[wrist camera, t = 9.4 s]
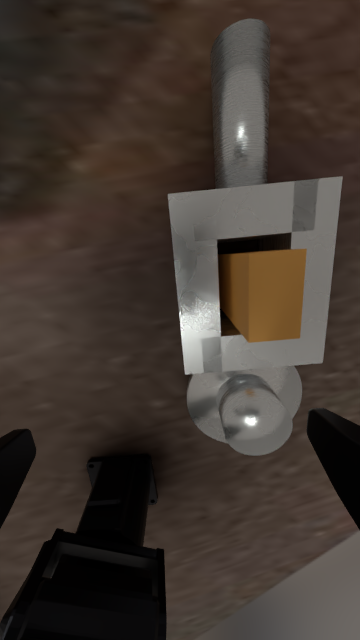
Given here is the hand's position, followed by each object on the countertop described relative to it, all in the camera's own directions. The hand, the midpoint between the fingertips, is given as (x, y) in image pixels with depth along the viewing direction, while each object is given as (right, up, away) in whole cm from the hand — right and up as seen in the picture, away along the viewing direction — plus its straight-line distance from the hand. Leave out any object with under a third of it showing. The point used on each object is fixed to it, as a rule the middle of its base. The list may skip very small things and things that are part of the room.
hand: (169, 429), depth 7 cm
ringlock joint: (+5, +7, +10) cm, 13 cm away
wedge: (+5, +7, +10) cm, 13 cm away
